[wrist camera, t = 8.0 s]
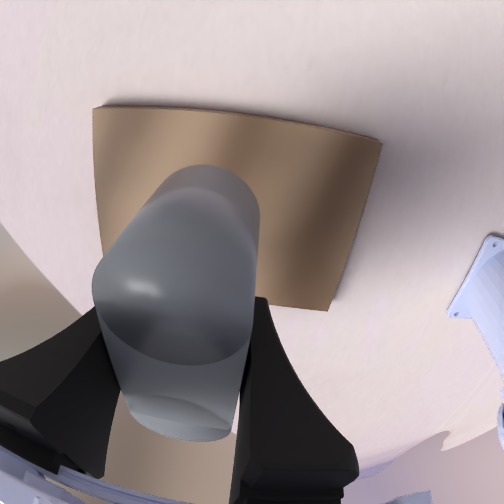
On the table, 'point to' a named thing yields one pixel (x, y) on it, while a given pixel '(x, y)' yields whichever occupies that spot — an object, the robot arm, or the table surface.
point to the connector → (183, 302)
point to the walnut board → (255, 176)
